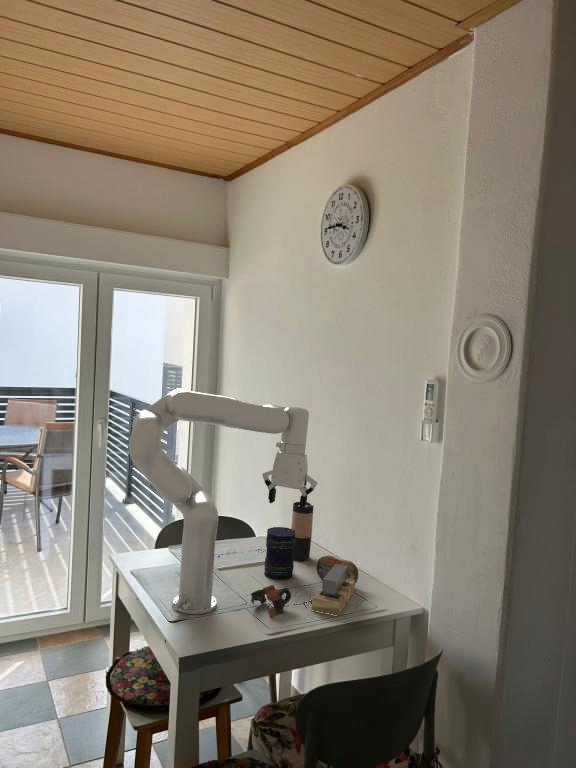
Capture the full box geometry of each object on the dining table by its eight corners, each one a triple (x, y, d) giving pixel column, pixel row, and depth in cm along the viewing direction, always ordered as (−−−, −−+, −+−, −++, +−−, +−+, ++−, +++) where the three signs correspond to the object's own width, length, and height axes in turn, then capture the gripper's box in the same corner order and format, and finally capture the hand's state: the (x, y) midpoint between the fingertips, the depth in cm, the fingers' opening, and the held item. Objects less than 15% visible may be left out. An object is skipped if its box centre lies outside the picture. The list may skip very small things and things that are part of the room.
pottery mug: (262, 622, 163) (252, 593, 166) (253, 623, 172) (244, 595, 174) (300, 606, 168) (290, 578, 171) (289, 607, 177) (280, 580, 179)
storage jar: (282, 583, 191) (285, 538, 190) (257, 575, 196) (260, 531, 195) (298, 574, 199) (301, 531, 198) (275, 567, 204) (277, 525, 204)
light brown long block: (338, 617, 169) (339, 603, 169) (311, 611, 172) (312, 597, 171) (354, 592, 188) (355, 579, 187) (330, 587, 190) (331, 574, 190)
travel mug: (286, 559, 213) (290, 505, 211) (292, 553, 220) (296, 500, 219) (306, 563, 210) (310, 508, 209) (312, 556, 218) (316, 503, 217)
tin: (315, 578, 197) (316, 553, 197) (320, 575, 200) (321, 551, 199) (354, 591, 188) (356, 565, 188) (358, 588, 191) (360, 563, 191)
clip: (333, 611, 172) (336, 581, 172) (320, 608, 174) (323, 579, 173) (345, 594, 186) (347, 566, 185) (333, 591, 187) (335, 563, 186)
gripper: (261, 445, 174) (255, 502, 175) (316, 454, 168) (310, 513, 169) (270, 443, 181) (265, 497, 182) (324, 451, 176) (317, 508, 176)
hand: (286, 505), depth 176 cm, fingers open, 9 cm apart
